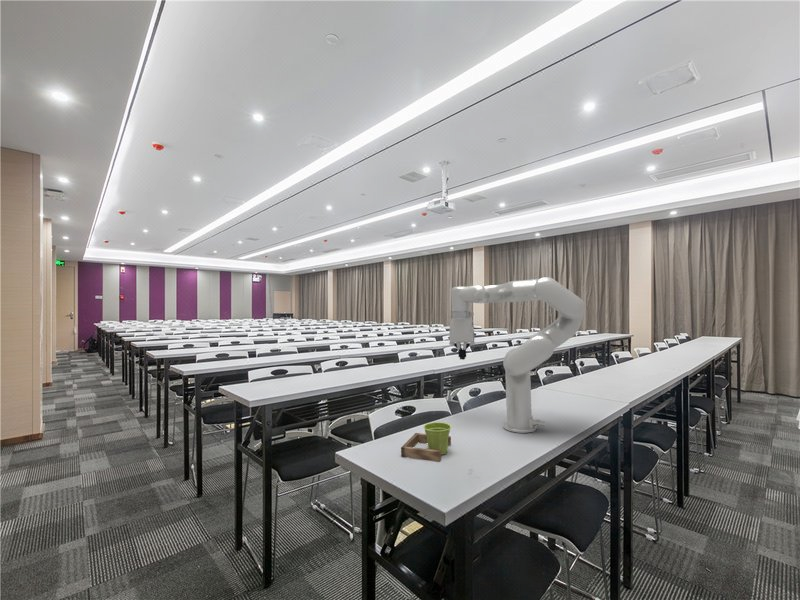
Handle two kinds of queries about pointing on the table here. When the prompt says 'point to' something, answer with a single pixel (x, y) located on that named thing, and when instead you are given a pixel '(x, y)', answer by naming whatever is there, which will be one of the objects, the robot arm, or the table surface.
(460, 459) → the table surface
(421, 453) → the dock
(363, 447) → the table surface
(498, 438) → the table surface
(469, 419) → the table surface
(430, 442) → the plant pot
